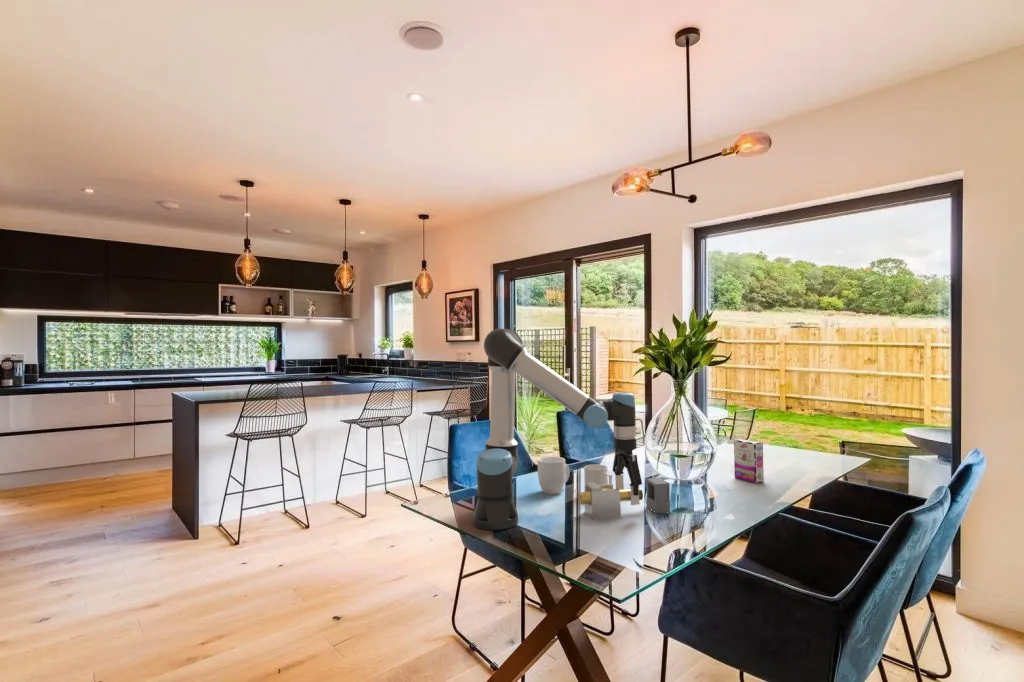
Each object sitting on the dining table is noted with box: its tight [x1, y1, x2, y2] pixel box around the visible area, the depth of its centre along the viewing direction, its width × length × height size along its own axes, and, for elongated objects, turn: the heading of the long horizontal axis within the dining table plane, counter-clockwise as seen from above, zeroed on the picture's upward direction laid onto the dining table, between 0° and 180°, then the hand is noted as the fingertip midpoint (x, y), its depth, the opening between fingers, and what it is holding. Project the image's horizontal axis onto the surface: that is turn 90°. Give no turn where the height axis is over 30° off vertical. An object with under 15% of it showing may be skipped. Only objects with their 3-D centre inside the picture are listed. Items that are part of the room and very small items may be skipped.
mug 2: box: [583, 464, 613, 487], centre depth 205 cm, size 12×9×11 cm
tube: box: [577, 487, 644, 506], centre depth 185 cm, size 22×4×4 cm, turn 100°
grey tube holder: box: [584, 482, 622, 520], centre depth 185 cm, size 10×8×10 cm
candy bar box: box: [733, 438, 765, 484], centre depth 224 cm, size 11×5×16 cm, turn 25°
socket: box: [645, 477, 671, 514], centre depth 188 cm, size 5×8×10 cm, turn 10°
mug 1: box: [537, 456, 571, 496], centre depth 214 cm, size 15×11×13 cm
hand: (627, 498), depth 186 cm, fingers open, 13 cm apart
